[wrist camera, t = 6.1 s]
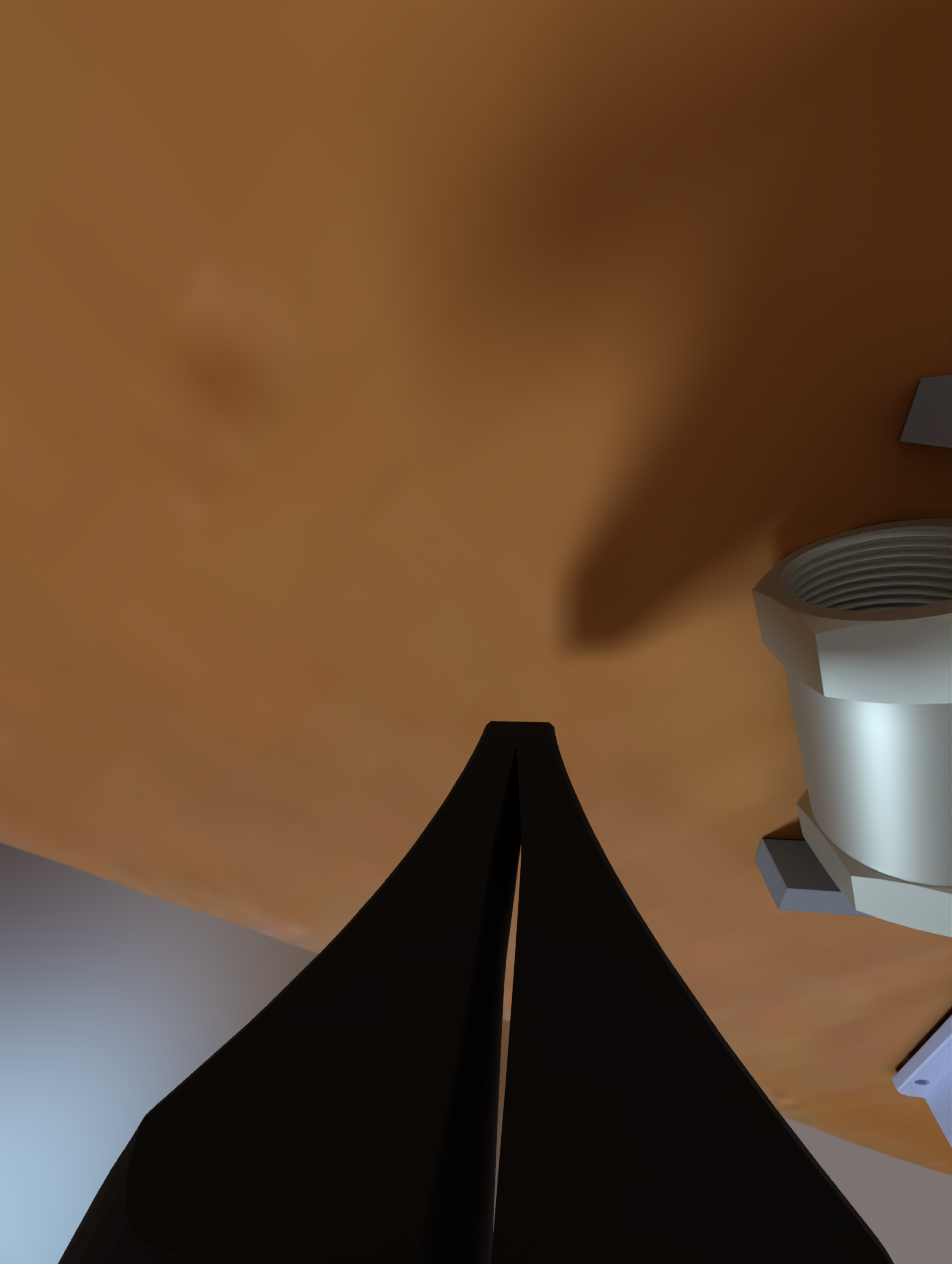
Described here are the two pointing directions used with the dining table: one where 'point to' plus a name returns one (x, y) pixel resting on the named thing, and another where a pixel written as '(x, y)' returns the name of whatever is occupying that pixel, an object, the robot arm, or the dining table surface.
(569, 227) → the dining table surface
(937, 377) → the grey-green knobbed block
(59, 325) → the dining table surface
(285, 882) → the dining table surface
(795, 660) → the pipe fitting
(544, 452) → the dining table surface
